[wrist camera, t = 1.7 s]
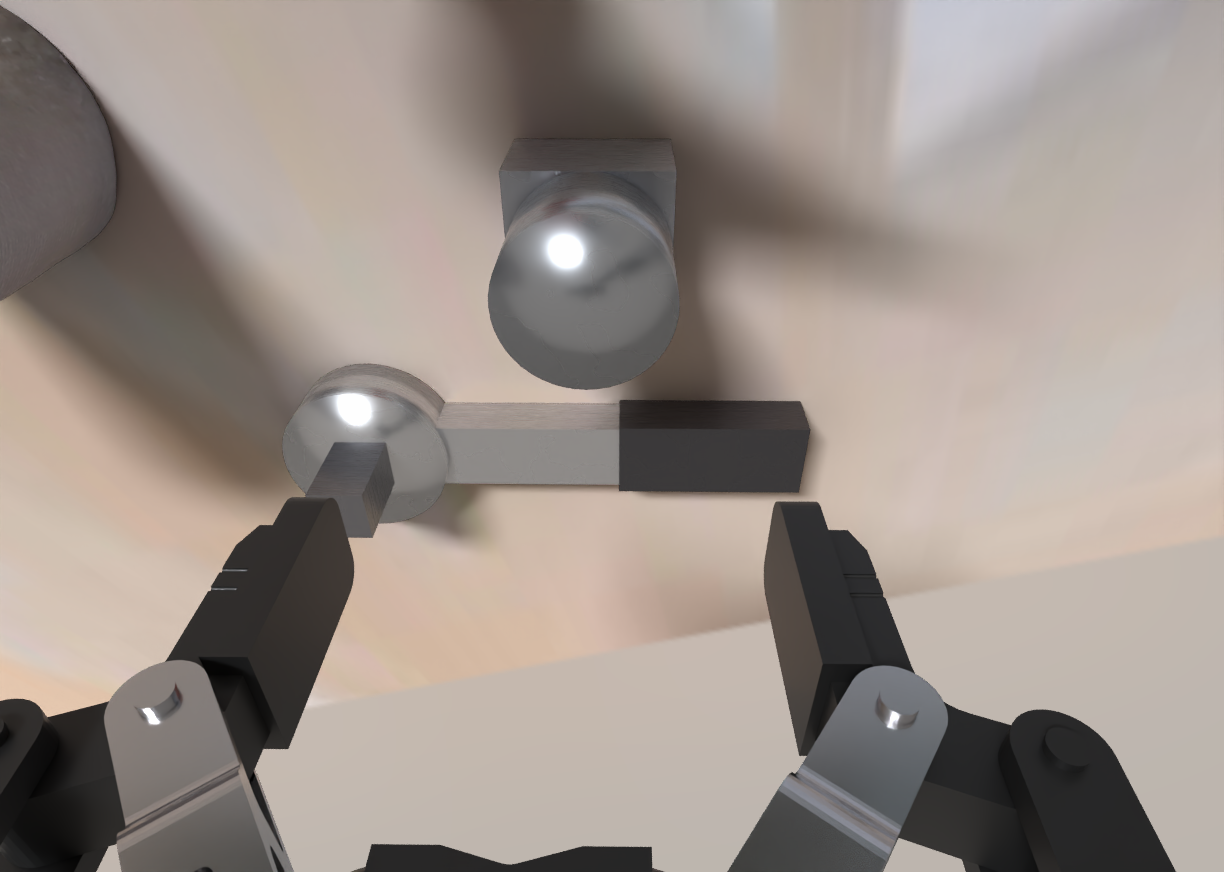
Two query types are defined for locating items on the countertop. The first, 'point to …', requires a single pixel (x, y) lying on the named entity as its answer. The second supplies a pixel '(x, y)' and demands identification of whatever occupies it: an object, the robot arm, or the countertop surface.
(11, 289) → the pillar candle
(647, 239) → the cylinder on square block
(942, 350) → the countertop surface
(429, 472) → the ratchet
